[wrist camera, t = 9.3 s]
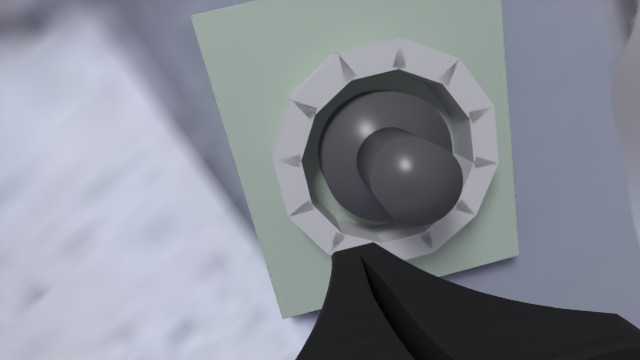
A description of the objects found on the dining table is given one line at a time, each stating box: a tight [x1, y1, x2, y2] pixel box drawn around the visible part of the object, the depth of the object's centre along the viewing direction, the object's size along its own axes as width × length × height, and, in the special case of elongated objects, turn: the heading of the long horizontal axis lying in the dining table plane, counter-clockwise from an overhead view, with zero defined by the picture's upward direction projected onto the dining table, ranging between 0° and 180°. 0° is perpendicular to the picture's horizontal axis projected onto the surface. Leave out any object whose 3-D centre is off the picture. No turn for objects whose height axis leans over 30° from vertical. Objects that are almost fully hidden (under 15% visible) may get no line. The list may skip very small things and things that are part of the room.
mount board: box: [190, 0, 519, 319], centre depth 19 cm, size 16×14×4 cm
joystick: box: [318, 90, 463, 226], centre depth 16 cm, size 6×6×6 cm
